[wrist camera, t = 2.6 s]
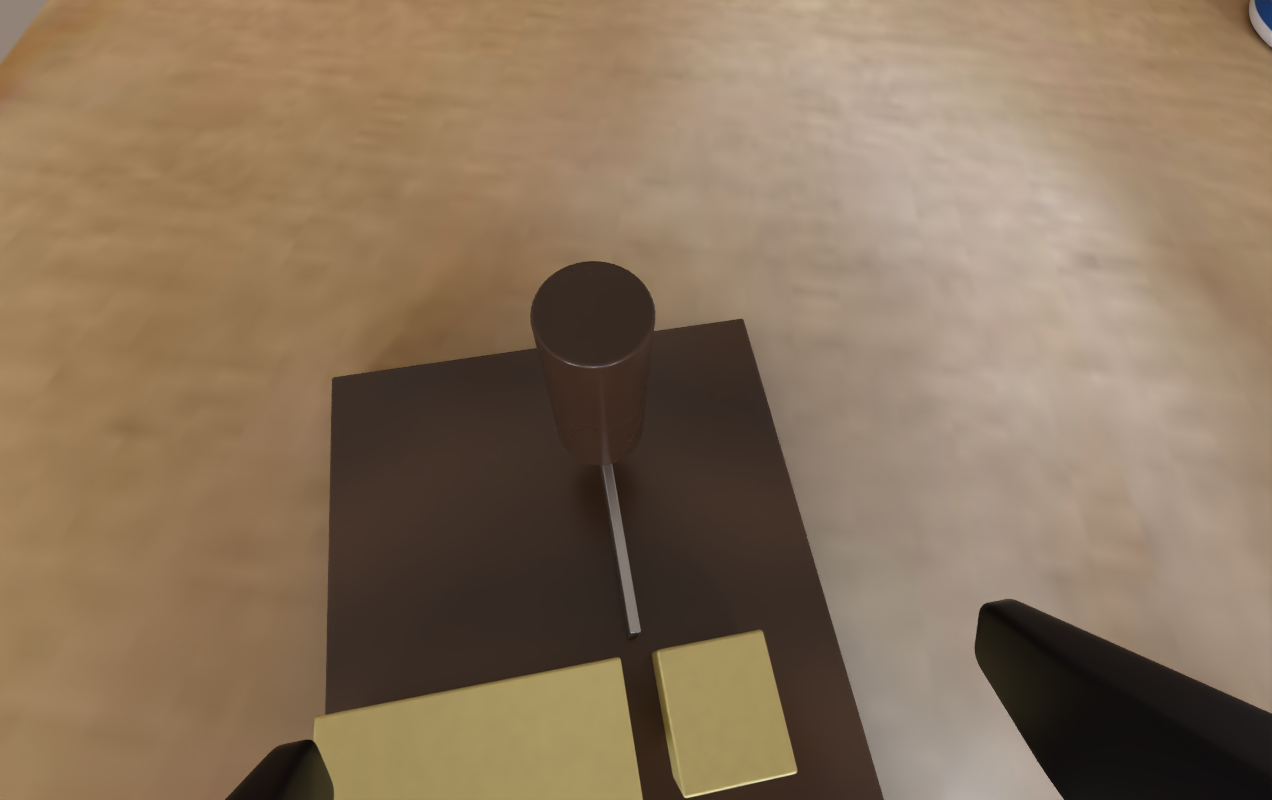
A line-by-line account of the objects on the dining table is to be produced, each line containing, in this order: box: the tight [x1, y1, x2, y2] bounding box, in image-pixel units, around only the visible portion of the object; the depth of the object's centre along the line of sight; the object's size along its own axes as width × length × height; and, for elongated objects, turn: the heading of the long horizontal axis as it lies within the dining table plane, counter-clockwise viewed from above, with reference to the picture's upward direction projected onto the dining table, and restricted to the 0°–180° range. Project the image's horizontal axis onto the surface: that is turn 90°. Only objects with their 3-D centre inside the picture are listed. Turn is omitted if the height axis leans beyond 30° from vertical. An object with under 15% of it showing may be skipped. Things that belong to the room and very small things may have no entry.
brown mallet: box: [530, 261, 655, 639], centre depth 16 cm, size 7×3×10 cm, turn 10°
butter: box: [314, 657, 643, 800], centre depth 17 cm, size 4×8×3 cm, turn 100°
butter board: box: [325, 319, 884, 800], centre depth 20 cm, size 20×16×2 cm
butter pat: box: [652, 630, 797, 798], centre depth 17 cm, size 4×3×3 cm
